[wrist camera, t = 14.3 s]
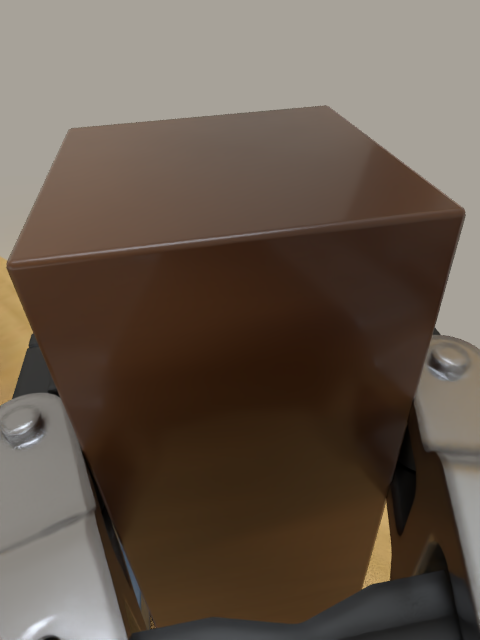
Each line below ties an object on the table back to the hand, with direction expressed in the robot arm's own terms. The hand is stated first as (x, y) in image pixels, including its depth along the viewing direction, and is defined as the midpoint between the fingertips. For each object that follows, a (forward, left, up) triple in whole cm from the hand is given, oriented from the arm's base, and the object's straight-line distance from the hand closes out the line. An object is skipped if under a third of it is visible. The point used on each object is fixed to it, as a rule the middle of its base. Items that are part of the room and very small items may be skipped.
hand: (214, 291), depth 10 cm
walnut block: (0, -3, -7) cm, 8 cm away
